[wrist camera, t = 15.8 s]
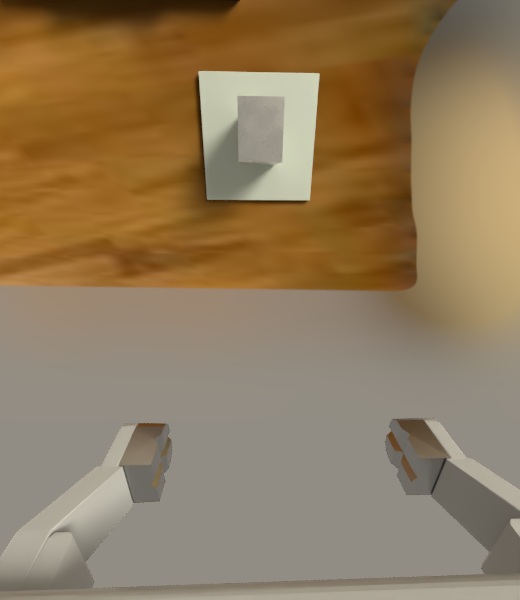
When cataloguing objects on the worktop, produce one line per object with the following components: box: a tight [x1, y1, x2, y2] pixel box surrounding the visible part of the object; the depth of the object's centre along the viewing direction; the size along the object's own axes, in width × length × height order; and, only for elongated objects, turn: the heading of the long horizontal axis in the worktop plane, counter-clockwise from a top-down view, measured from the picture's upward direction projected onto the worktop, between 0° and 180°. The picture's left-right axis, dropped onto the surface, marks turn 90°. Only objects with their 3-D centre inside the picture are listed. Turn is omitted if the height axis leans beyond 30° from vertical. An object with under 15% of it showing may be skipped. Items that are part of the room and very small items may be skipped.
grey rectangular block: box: [237, 96, 285, 165], centre depth 29 cm, size 4×5×9 cm
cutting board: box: [199, 71, 319, 200], centre depth 33 cm, size 13×13×1 cm
